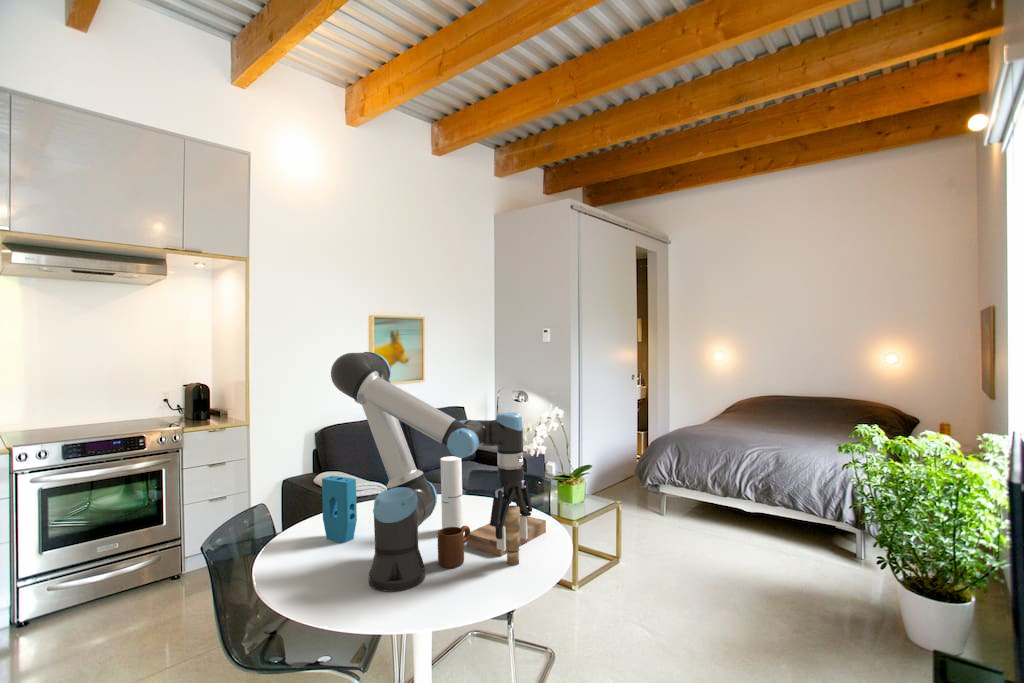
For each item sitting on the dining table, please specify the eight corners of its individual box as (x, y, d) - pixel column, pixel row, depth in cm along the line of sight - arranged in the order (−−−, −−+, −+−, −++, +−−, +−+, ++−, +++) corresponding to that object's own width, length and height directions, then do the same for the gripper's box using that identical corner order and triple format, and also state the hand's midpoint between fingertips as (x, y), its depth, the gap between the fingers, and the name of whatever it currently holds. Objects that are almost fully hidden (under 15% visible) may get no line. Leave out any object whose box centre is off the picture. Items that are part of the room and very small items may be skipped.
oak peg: (514, 567, 147) (513, 511, 147) (502, 564, 149) (500, 508, 150) (524, 562, 150) (522, 507, 150) (511, 558, 153) (510, 504, 153)
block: (321, 538, 174) (320, 478, 174) (333, 533, 178) (332, 475, 178) (346, 544, 168) (345, 482, 168) (358, 539, 172) (357, 479, 172)
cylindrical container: (461, 535, 173) (460, 460, 174) (440, 535, 174) (438, 461, 174) (464, 527, 181) (462, 456, 181) (443, 528, 181) (442, 456, 181)
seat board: (501, 556, 155) (501, 542, 155) (466, 546, 164) (466, 533, 164) (545, 532, 174) (545, 520, 174) (512, 524, 183) (512, 513, 183)
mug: (460, 551, 160) (459, 520, 160) (479, 556, 155) (478, 525, 155) (432, 564, 150) (431, 532, 150) (451, 571, 146) (450, 537, 146)
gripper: (496, 476, 139) (498, 559, 139) (542, 460, 157) (544, 534, 156) (475, 472, 144) (477, 553, 143) (523, 457, 161) (524, 529, 161)
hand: (512, 543), depth 150 cm, fingers open, 10 cm apart
